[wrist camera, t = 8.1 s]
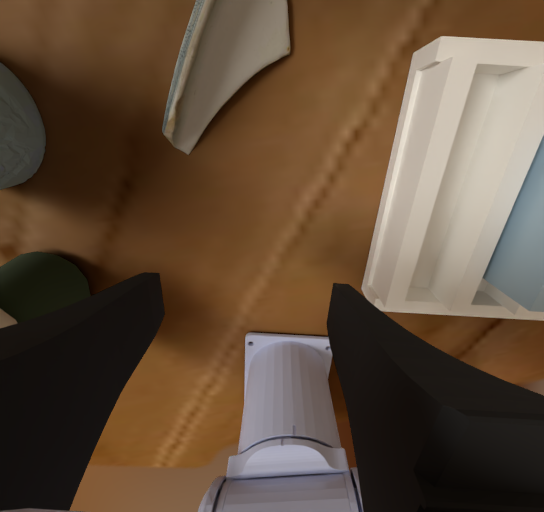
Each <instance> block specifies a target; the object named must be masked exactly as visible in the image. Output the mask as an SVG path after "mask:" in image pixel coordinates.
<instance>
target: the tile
mask: <svg viewBox="0 0 544 512" xmlns="http://www.w3.org/2000/svg"><path fill="white" fill-rule="evenodd" d="M482 278H483V279H485V280H486V281H487V282H489V283H490V284H492V285H493V286H494V287H496V288H497V289H499V290H500V291H501V292H503V293H504V294H506V295H507V296H508V297H510V298H511V299H513V300H514V301H515V302H517V303H518V304H520V305H521V306H522V307H524V308H525V309H527V310H528V311H535V312H544V135H543V137H542V140H541V142H540V144H539V147H538V149H537V151H536V154H535V156H534V158H533V161H532V163H531V165H530V168H529V170H528V172H527V175H526V177H525V179H524V182H523V184H522V186H521V189H520V191H519V193H518V196H517V198H516V200H515V203H514V205H513V207H512V210H511V212H510V214H509V217H508V219H507V221H506V224H505V226H504V228H503V231H502V233H501V235H500V238H499V240H498V242H497V245H496V247H495V249H494V252H493V254H492V256H491V259H490V261H489V263H488V266H487V268H486V270H485V273H484V275H483V277H482Z"/></svg>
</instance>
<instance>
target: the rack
mask: <svg viewBox="0 0 544 512" xmlns="http://www.w3.org/2000/svg"><path fill="white" fill-rule="evenodd" d="M543 135H544V42H537V41H520V40H502V39H484V38H466V37H448V36H441V37H439V38H437V39H436V40H434V41H433V42H431V43H429V44H428V45H426V46H424V47H423V48H421V49H419V50H418V51H416V52H414V53H413V57H412V61H411V66H410V70H409V75H408V79H407V84H406V88H405V93H404V97H403V102H402V106H401V111H400V116H399V120H398V125H397V129H396V134H395V138H394V143H393V147H392V152H391V156H390V161H389V165H388V170H387V175H386V179H385V184H384V188H383V193H382V197H381V202H380V206H379V211H378V215H377V220H376V225H375V229H374V234H373V238H372V243H371V247H370V252H369V256H368V261H367V265H366V270H365V274H364V279H363V284H362V288H361V289H362V291H363V293H364V295H365V297H366V299H367V300H368V301H369V302H371V303H372V304H373V305H374V306H375V307H377V308H378V309H379V310H380V311H387V312H404V313H421V314H438V315H455V316H473V317H490V318H507V319H524V320H542V321H544V312H535V311H528V310H527V309H525V308H524V307H522V306H521V305H520V304H518V303H517V302H515V301H514V300H513V299H511V298H510V297H508V296H507V295H506V294H504V293H503V292H501V291H500V290H499V289H497V288H496V287H494V286H493V285H492V284H490V283H489V282H487V281H486V280H485V279H483V278H482V277H483V275H484V273H485V270H486V268H487V266H488V263H489V261H490V259H491V256H492V254H493V252H494V249H495V247H496V245H497V242H498V240H499V238H500V235H501V233H502V231H503V228H504V226H505V224H506V221H507V219H508V217H509V214H510V212H511V210H512V207H513V205H514V203H515V200H516V198H517V196H518V193H519V191H520V189H521V186H522V184H523V182H524V179H525V177H526V175H527V172H528V170H529V168H530V165H531V163H532V161H533V158H534V156H535V154H536V151H537V149H538V147H539V144H540V142H541V140H542V137H543Z"/></svg>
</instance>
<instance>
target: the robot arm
mask: <svg viewBox="0 0 544 512" xmlns="http://www.w3.org/2000/svg"><path fill="white" fill-rule="evenodd" d="M164 315H165V311H164V304H163V297H162V290H161V282H160V275H159V273H147V272H144V273H141V274H138V275H136V276H134V277H131V278H129V279H127V280H125V281H123V282H120V283H118V284H116V285H114V286H112V287H110V288H108V289H105V290H103V291H101V292H99V293H97V294H94V295H92V296H90V297H87V298H85V299H83V300H80V301H78V302H76V303H74V304H71V305H69V306H66V307H64V308H61V309H59V310H56V311H53V312H50V313H48V314H45V315H42V316H39V317H36V318H33V319H30V320H27V321H24V322H20V323H17V324H14V325H10V326H7V327H3V328H0V512H79V511H69V510H70V507H71V504H72V502H73V499H74V497H75V494H76V492H77V489H78V487H79V484H80V482H81V480H82V477H83V475H84V472H85V470H86V468H87V465H88V463H89V461H90V458H91V456H92V454H93V451H94V449H95V447H96V444H97V442H98V440H99V438H100V436H101V433H102V431H103V429H104V427H105V425H106V422H107V420H108V418H109V416H110V414H111V412H112V410H113V408H114V406H115V404H116V402H117V400H118V398H119V396H120V394H121V392H122V390H123V388H124V386H125V385H126V383H127V381H128V380H129V378H130V376H131V375H132V373H133V372H134V370H135V368H136V367H137V365H138V363H139V362H140V360H141V359H142V357H143V355H144V354H145V352H146V351H147V349H148V347H149V346H150V344H151V342H152V341H153V339H154V337H155V336H156V334H157V331H158V329H159V327H160V325H161V322H162V320H163V317H164ZM327 330H328V337H320V336H303V335H286V334H269V333H247V334H246V338H245V398H244V410H243V418H242V426H241V434H240V441H239V449H238V455H235V456H230V457H229V461H228V468H227V474H226V476H219V477H217V478H216V479H215V480H214V481H213V482H212V484H211V486H210V488H209V489H208V491H207V492H206V493H205V495H204V497H203V499H202V501H201V504H200V506H199V509H198V512H544V396H543V395H541V394H538V393H535V392H533V391H530V390H528V389H525V388H522V387H520V386H517V385H515V384H512V383H509V382H507V381H504V380H502V379H499V378H497V377H495V376H493V375H490V374H488V373H486V372H484V371H481V370H479V369H477V368H475V367H473V366H470V365H468V364H466V363H464V362H462V361H460V360H458V359H456V358H454V357H452V356H450V355H449V354H447V353H445V352H443V351H441V350H439V349H437V348H435V347H434V346H432V345H430V344H428V343H427V342H425V341H423V340H422V339H420V338H419V337H417V336H415V335H414V334H412V333H411V332H409V331H408V330H406V329H405V328H403V327H402V326H400V325H399V324H398V323H396V322H395V321H393V320H392V319H391V318H389V317H388V316H387V315H385V314H384V313H383V312H382V311H380V310H379V309H378V308H377V307H375V306H374V305H373V304H372V303H371V302H369V301H368V300H367V299H366V298H365V297H363V296H362V295H361V294H360V293H359V292H358V291H356V290H355V289H354V288H353V287H351V286H350V285H349V284H337V283H333V289H332V295H331V301H330V307H329V313H328V318H327ZM249 342H253V343H249ZM327 346H330V347H327ZM332 355H333V359H334V362H335V366H336V369H337V373H338V376H339V380H340V383H341V387H342V390H343V394H344V398H345V402H346V406H347V411H348V417H349V422H350V428H351V433H352V439H353V445H354V452H355V457H356V464H357V467H356V468H351V469H350V473H349V467H348V462H347V458H346V453H345V450H344V449H343V448H341V445H340V440H339V435H338V429H337V424H336V419H335V414H334V409H333V404H332V399H331V394H330V389H329V383H328V376H329V371H330V366H331V360H332ZM80 512H81V511H80Z"/></svg>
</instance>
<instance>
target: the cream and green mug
mask: <svg viewBox="0 0 544 512" xmlns="http://www.w3.org/2000/svg"><path fill="white" fill-rule="evenodd" d="M87 297H90V291H89V286H88V282H87V279H86V278H85V276H84V275H83V274H82V273H81V271H80V270H79V269H78V268H77V267H76V265H74V264H72V263H70V262H69V261H67V260H65V259H63V258H61V257H60V256H58V255H53V254H48V253H43V252H32V253H26V254H21V255H19V256H18V257H16V258H14V259H13V260H11V261H9V262H8V263H6V264H4V265H3V266H1V267H0V328H3V327H7V326H10V325H14V324H17V323H20V322H24V321H27V320H30V319H33V318H36V317H39V316H42V315H45V314H48V313H50V312H53V311H56V310H59V309H61V308H64V307H66V306H69V305H71V304H74V303H76V302H78V301H80V300H83V299H85V298H87Z"/></svg>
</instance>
